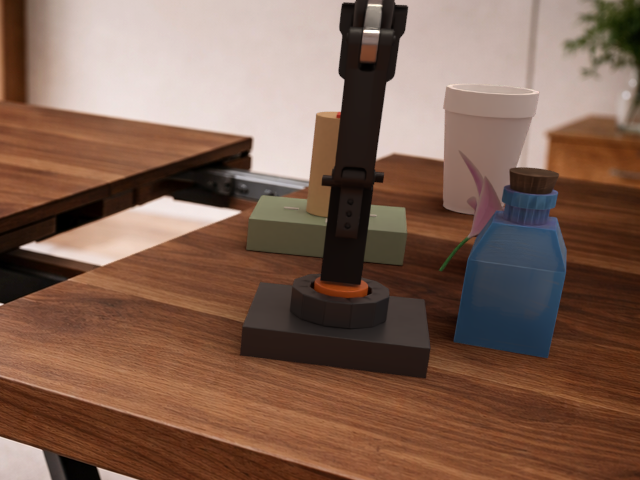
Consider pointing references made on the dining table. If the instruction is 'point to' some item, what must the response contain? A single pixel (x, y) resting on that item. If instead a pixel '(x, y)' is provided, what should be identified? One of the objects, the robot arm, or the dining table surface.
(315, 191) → the handle
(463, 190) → the foam cup
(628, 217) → the dining table surface
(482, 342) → the perfume bottle
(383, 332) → the button block
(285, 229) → the panel
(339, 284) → the button
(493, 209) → the lily
